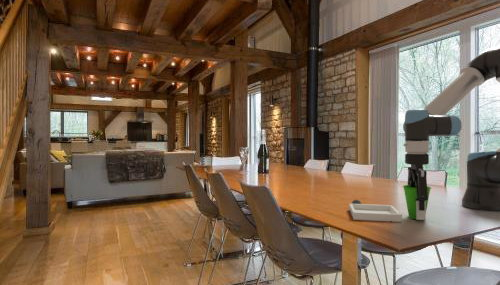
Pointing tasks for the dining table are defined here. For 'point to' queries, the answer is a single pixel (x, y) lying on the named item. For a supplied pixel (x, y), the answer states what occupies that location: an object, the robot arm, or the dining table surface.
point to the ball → (356, 202)
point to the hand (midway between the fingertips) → (416, 216)
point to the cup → (412, 199)
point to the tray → (375, 212)
